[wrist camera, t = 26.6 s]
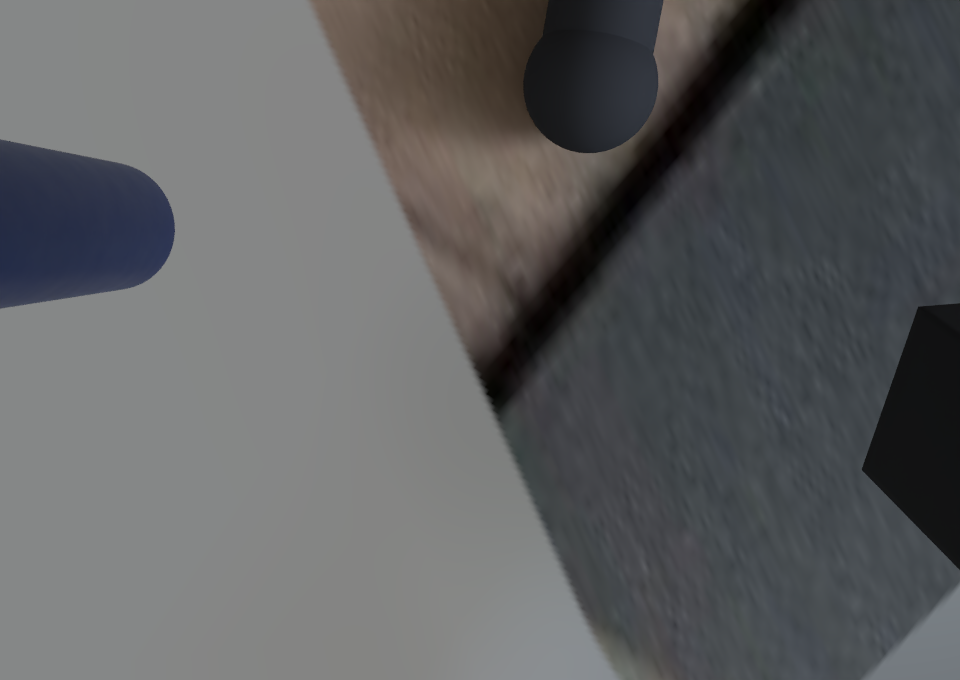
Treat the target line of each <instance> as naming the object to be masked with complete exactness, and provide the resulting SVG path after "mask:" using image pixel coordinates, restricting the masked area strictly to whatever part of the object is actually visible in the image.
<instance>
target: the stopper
mask: <svg viewBox="0 0 960 680" xmlns="http://www.w3.org/2000/svg"><path fill="white" fill-rule="evenodd" d="M662 5H663V0H549V2H548V8H547V13H546V19H545V24H544V30H543V36H542V38H541V39H540V40H539V42H538V43H537V44H536V46H535V47H534V49H533V51H532V53H531V55H530V57H529V59H528V62H527V65H526V69H525V73H524V81H523V85H524V98H525V103H526V107H527V110H528V112H529V114H530V117H531V118H532V120H533V122H534V123H535V125H536V127H537V128H538V129H539V130H540V132H541V133H542V134H543V135H544V136H545V137H546V138H548V139H549V140H550V141H552V142H553V143H555V144H557V145H558V146H560V147H562V148H565V149H567V150H570V151H574V152H579V153H597V152H602V151H606V150H609V149H612V148H615V147H617V146H619V145H621V144H623V143H624V142H626V141H627V140H629V139H630V138H631V137H632V136H634V135H635V134H636V133H637V132H638V131H639V130H640V128H641V127H642V126H643V125H644V123H645V122H646V121H647V119H648V117H649V115H650V113H651V112H652V109H653V107H654V104H655V100H656V96H657V90H658V72H657V66H656V62H655V58H654V56H653V52H654V47H655V42H656V36H657V31H658V26H659V21H660V15H661V10H662Z"/></svg>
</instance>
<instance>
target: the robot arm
mask: <svg viewBox="0 0 960 680" xmlns="http://www.w3.org/2000/svg"><path fill="white" fill-rule="evenodd" d="M862 471H863V472H864V473H865V474H866V475H867V476H868V477H869V478H870V479H871V480H872V481H873V482H874V483H875V484H876V485H877V486H878V487H879V488H880V489H881V490H882V491H883V492H884V493H885V494H886V495H887V496H888V497H889V498H890V499H891V500H892V501H893V502H894V503H895V504H896V505H897V506H898V507H899V508H900V509H901V510H902V511H903V512H904V513H905V514H906V515H907V516H908V517H909V518H910V519H911V521H912V522H913V523H914V524H915V525H916V526H917V527H918V528H919V529H920V530H921V531H922V532H923V533H924V534H925V535H926V536H927V537H928V538H929V539H930V540H931V541H932V542H933V543H934V544H935V545H936V546H937V547H938V548H939V549H940V550H941V551H942V552H943V553H944V554H945V555H946V556H947V557H948V558H949V559H950V560H951V561H952V562H953V563H954V564H955V565H956V566H957V567H958V568H959V569H960V304H947V305H934V306H922V307H918V309H917V312H916V315H915V318H914V321H913V324H912V327H911V329H910V332H909V335H908V338H907V341H906V344H905V347H904V350H903V352H902V355H901V358H900V361H899V364H898V367H897V370H896V373H895V375H894V378H893V381H892V384H891V387H890V390H889V393H888V396H887V398H886V401H885V404H884V407H883V410H882V413H881V416H880V419H879V421H878V424H877V427H876V430H875V433H874V436H873V439H872V442H871V444H870V447H869V450H868V453H867V456H866V459H865V462H864V465H863V467H862Z"/></svg>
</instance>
